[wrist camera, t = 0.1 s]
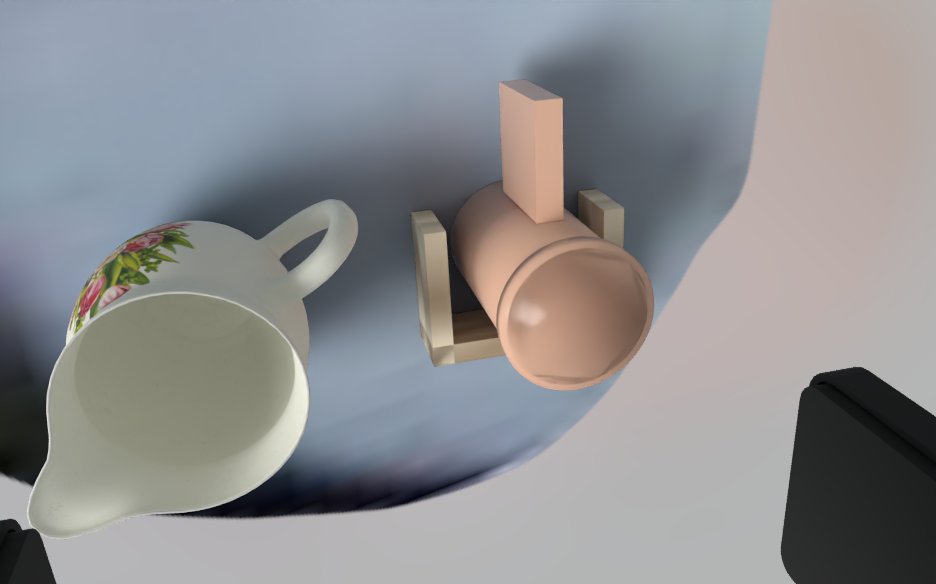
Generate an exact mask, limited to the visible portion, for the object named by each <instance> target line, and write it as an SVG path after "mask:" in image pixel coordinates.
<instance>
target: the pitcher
mask: <svg viewBox="0 0 936 584" xmlns="http://www.w3.org/2000/svg"><path fill="white" fill-rule="evenodd" d="M326 228H328V231H327V233H326V235H325V237H324V239H323V240H322V241H321V243H320V244H319V246H318V247H317V248H316V249H315V250H314V251H313V252H312V253H311V254H310V255H309V256H308V257H307V258H306V259H305V260H304V261H303V262H302V263H300V264H299V265H298V266H296V267H295V268H294V269H292V270H291V271H289V272H288V271H287V270H286V268H285V267H284V266H283V264H282V263H281V262H280V258H281V256H282V255H283V254H284V253H286V252H287V251H288V250H289V249H291V248H292V247H293V246H295V245H296V244H298V243H299V242H301V241H302V240H304V239H305V238H307V237H309V236H311V235H313V234H315V233H317V232H319V231H321V230H324V229H326ZM357 235H358V221H357V218H356V215H355V213H354V212H353V211H352V210H351V209H350V208H349V206H348V205H347V204H345V203H344V202H343V201H340V200H335V199H328V200H324V201H321V202H318V203H316V204H314V205H312V206H310V207H308V208H306V209H304V210H302V211H300V212H299V213H297V214H295V215H294V216H292V217H291V218H289V219H288V220H286V221H285V222H284V223H282V224H281V225H279V226H278V227H277V228H275V229H274V230H273V231H271V232H270V233H269V234H267V235H266V236H265V237H263V238H261V239H259V240H255V239H254V238H252V237H251V236H249V235H247V234H245V233H244V232H242V231H240V230H238V229H235V228H232V227H229V226H227V225H223V224H219V223H215V222H207V221H180V222H173V223H168V224H164V225H160V226H157V227H154V228H152V229H149V230H147V231H144V232H142V233H140V234H138V235H136V236H135V237H133V238H131V239H129V240H127V241H126V242H125V243H123V244H122V245H121V246H119V247H118V248H117V249H115V250H114V251H113V252H112V253H111V254H110V255H109V256H108V257H107V258H106V259H105V260H104V261H103V262H101V264H100V265H99V266H98V267H97V269H96V270H95V271H94V273H93V274H92V275H91V277H90V278H89V279H88V280H87V282H86V284H85V286H84V288H83V289H82V291H81V293H80V295H79V297H78V299H77V301H76V303H75V306H74V309H73V312H72V315H71V318H70V321H69V326H68V332H67V338H66V346H65V348H64V349H63V351H62V353H61V355H60V357H59V358H58V360H57V362H56V364H55V367H54V370H53V372H52V375H51V378H50V382H49V387H48V392H47V407H46V411H47V422H48V432H49V451H48V457H47V461H46V463H45V465H44V466H43V468H42V470H41V472H40V474H39V476H38V478H37V480H36V482H35V485H34V487H33V490H32V493H31V495H30V498H29V503H28V508H27V517H28V520H29V524H30V526H31V527H32V528H34V529H36V530H37V531H38V532H39V534H42V535H44V536H46V537H48V538H54V539H68V538H73V537H79V536H83V535H86V534H90V533H93V532H96V531H99V530H102V529H104V528H107V527H109V526H112V525H114V524H116V523H119V522H121V521H123V520H125V519H127V518H131V517H136V516H141V515H149V514H164V513H183V512H190V511H197V510H202V509H206V508H211V507H215V506H218V505H221V504H223V503H226V502H229V501H232V500H234V499H236V498H238V497H240V496H242V495H245V494H246V493H248V492H250V491H251V490H253V489H255V488H256V487H258V486H260V485H261V484H262V483H264V482H265V481H266V480H268V479H269V478H270V477H271V476H272V475H274V474H275V473H276V472H277V471H278V470H279V469H280V468H281V467H282V466H283V465H284V463H285V462H286V461H287V460H288V459H289V457H290V456H291V455H292V453H293V452H294V450H295V449H296V447H297V445H298V444H299V442H300V439H301V437H302V435H303V433H304V430H305V427H306V424H307V420H308V416H309V409H310V388H309V382H308V376H307V373H306V369H307V365H308V358H309V346H310V344H309V327H308V320H307V314H306V310H305V307H304V304H303V300H302V298H304V297H305V296H307V295H308V294H310V293H311V292H313V291H314V290H315V289H317V288H318V287H319V286H320V285H322V284H323V283H324V282H325V281H326V280H328V279H329V278H330V277H331V276H332V275H333V274H334V273H335V272H336V271H337V270H338V268H339V267H340V266H341V265H342V263H343V262H344V261H345V260H346V258H347V257H348V255H349V254H350V252H351V250H352V248H353V246H354V244H355V242H356V239H357Z"/></svg>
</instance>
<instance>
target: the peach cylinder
mask: <svg viewBox="0 0 936 584" xmlns="http://www.w3.org/2000/svg"><path fill="white" fill-rule="evenodd" d="M499 93H500V119H501V146H502V172H503V181H500V182H496V183H493V184H490V185H488V186H486V187H483V188H482V189H480V190H479V191H477V192H476V193H475V194H473V195H472V196H471V197H470V198H469V199H468V200H467V201H466V202H465V203H464V205H463V206H462V207H461V209H460V210H459V212H458V214H457V215H456V218H455V220H454V223H453V226H452V230H451V252H452V255H453V259H454V261H455V263H456V265H457V267H458V269H459V270H460V272H461V273H462V275H463V277H464V278H465V280H466V281H467V283H468V284H469V286H470V288H471V289H472V291H473V292H474V294H475V295H476V297H477V299H478V300H479V302H480V303H481V305H482V306H483V308H484V310H485V311H486V313H487V314H488V316H489V317H490V319H491V320H492V322H493V324H494V325H495V327H496V328H497V334H498V338H499V342H500V344H501V346H502V349H503V351H504V353H505V354H506V356H507V357H508V359H509V361H510V362H511V364H512V365H513V367H514V368H515V369H516V370H517V371H518V372H519V373H520V374H521V375H522V376H523V377H525V378H526V379H528V380H529V381H531V382H532V383H535V384H537V385H539V386H542V387H545V388H549V389H555V390H576V389H581V388H586V387H589V386H592V385H595V384H598V383H600V382H602V381H604V380H606V379H608V378H609V377H611V376H613V375H614V374H616V373H617V372H618V371H620V370H621V369H622V368H623V367H624V366H625V365H626V364H628V363H629V362H630V361H631V359H632V358H633V357H634V356H635V355H636V353H637V352H638V351H639V349H640V348H641V346H642V345H643V343H644V341H645V339H646V337H647V335H648V332H649V329H650V327H651V323H652V319H653V313H654V295H653V289H652V286H651V283H650V280H649V278H648V275H647V273H646V271H645V270H644V269H643V267H642V266H641V264H640V263H639V262H638V261H637V260H636V259H635V258H634V257H633V256H631V255H630V254H629V253H628V252H627V251H625V250H624V249H623V248H621V247H620V246H618V245H616V244H614V243H613V242H610V241H608V240H605V239H601V238H600V237H599V236H597V235H596V234H595V233H594V232H593V231H591V230H590V229H589V228H588V227H587V226H586V225H584V224H583V223H582V222H581V221H580V220H578V219H577V218H576V217H575V216H574V215H572V214H571V213H570V212H569V211H568V210H566V209H565V208H564V207H563V98H561V97H559V96H557V95H555V94H553V93H551V92H549V91H547V90H545V89H543V88H541V87H539V86H537V85H535V84H533V83H531V82H529V81H527V80H525V79H523V80H513V81H502V82H499Z"/></svg>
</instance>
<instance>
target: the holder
mask: <svg viewBox="0 0 936 584" xmlns="http://www.w3.org/2000/svg"><path fill="white" fill-rule="evenodd" d="M411 220H412V232H413V244H414V255H415V267H416V279H417V290H418V302H419V314H420V326H421V337H422V339H423V341H424V344H425V346H426V348H427V351H428V353H429V355H430V358H431V360H432V362H433V365H434V367H436V366H442V365H448V364H454V363H460V362H466V361H472V360H478V359H484V358H490V357H496V356H503V355H506V354H505V353H504V351H503V349H502V346H501V344H500V342H499V338H498V334H497V328H496V327H495V325H494V324H493V322H492V320H491V319H490V317H489V316H488V314H487V313H486V311H485V310H484V309H483V310H476V311H469V312H463V313H456V314H452V313H451V299H450V284H449V269H448V255H447V240H446V231H445V229H444V228H443V226H442V225H441V223H440V222H439V220H438V219H437V218H436V216H435V215H434V213H433V212H432V210H425V211H418V212H411ZM578 220H580V221H581V222H582V223H583V224H584V225H586V226H587V227H588V228H589V229H590V230H591V231H593V232H594V233H595V234H596V235H597V236H599V237H600V238H601V239H605V240H608V241H610V242H613V243H614V244H616V245H618V246H620V247H621V248H623V242H624V207H622V206H621V205H619V204H618V203H616V202H615V201H614V200H612V199H611V198H609V197H608V196H607V195H605V194H604V193H602V192H601V191H599V190H598V189H593V190H585V191H578Z"/></svg>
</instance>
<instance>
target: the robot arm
mask: <svg viewBox="0 0 936 584" xmlns="http://www.w3.org/2000/svg"><path fill="white" fill-rule="evenodd" d="M781 556H782V561H783V564H784V567H785V569H786V571H787V573H788V574H789V576H790V577H791V578H792V580H793V581H794V582H795V583H796V584H936V417H935V416H934V415H932V414H931V413H930V412H928V411H927V410H925V409H924V408H922V407H921V406H919V405H918V404H916V403H915V402H914V401H912V400H911V399H909V398H907V397H906V396H905V395H903V394H902V393H900V392H899V391H897V390H896V389H895V388H893V387H892V386H890V385H889V384H887V383H886V382H884V381H883V380H881V379H880V378H878V377H877V376H876V375H874V374H873V373H871V372H870V371H868V370H866V369H864V368H862V367H853V368H847V369H841V370H836V371H830V372H825V373H820V374H817V375H816V376H814V377H813V379H812V380H811V382H810V385H809V387H807V388H805V389H804V390H803V392H802V393H801V397H800V402H799V410H798V418H797V426H796V434H795V441H794V449H793V457H792V465H791V472H790V480H789V489H788V496H787V503H786V511H785V519H784V527H783V535H782V542H781ZM0 584H56V581H55V578H54V575H53V572H52V569H51V566H50V563H49V560H48V557H47V554H46V551H45V547H44V544H43V541H42V539H41V536H40V534H39V532H38V531H37V530H36V529H27V530H22V529H21V527H20V525H19V524H18V522H17V521H16V520H13V519H7V520H1V521H0Z"/></svg>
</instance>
